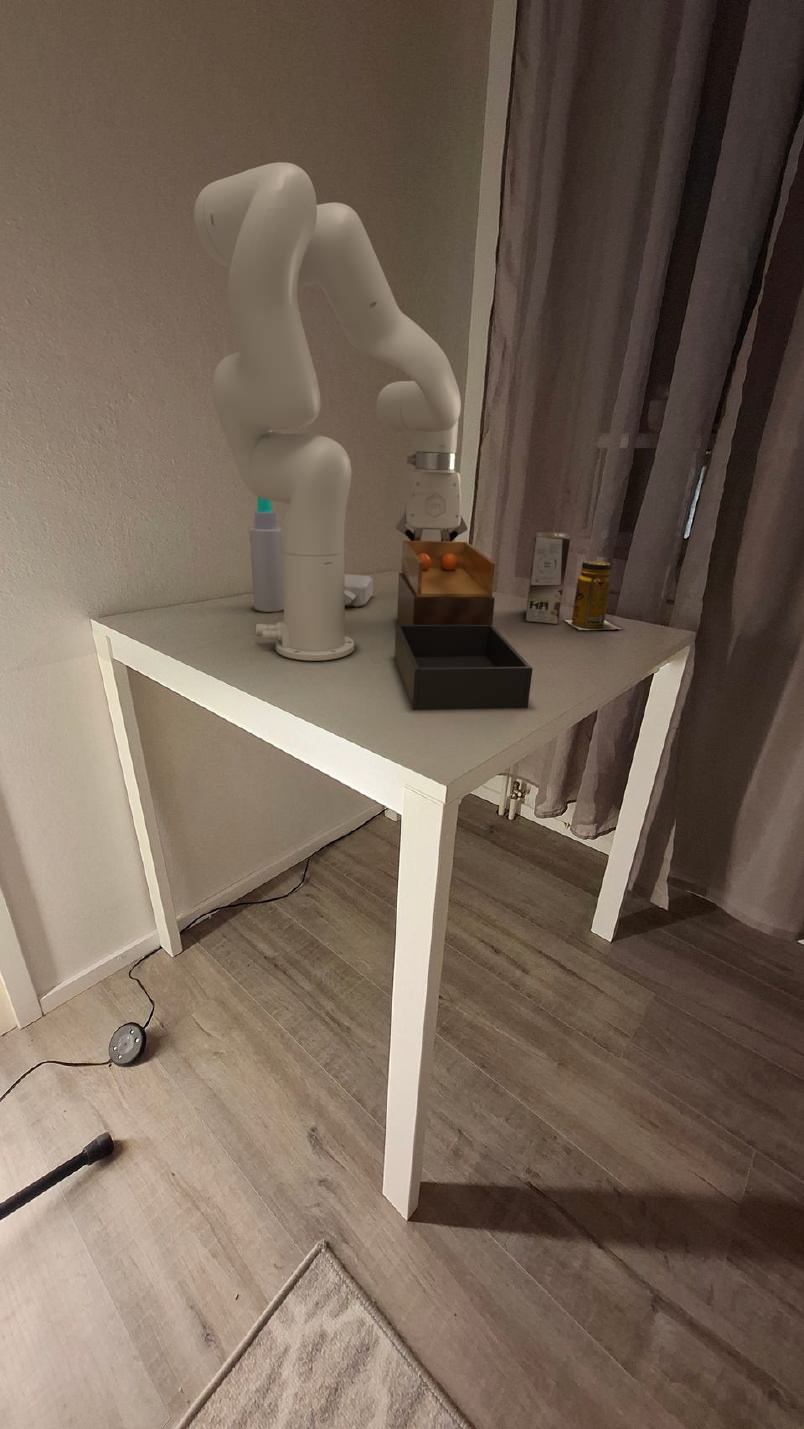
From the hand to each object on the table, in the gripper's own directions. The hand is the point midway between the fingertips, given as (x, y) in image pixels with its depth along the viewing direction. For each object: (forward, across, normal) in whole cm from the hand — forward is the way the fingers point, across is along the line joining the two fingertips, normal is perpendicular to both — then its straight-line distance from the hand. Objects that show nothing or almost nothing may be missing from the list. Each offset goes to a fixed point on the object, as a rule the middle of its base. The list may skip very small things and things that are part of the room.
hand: (429, 564), depth 119 cm
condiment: (+10, +31, -8) cm, 34 cm away
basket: (+10, -2, -37) cm, 39 cm away
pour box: (0, 0, -11) cm, 11 cm away
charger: (+10, -16, +8) cm, 20 cm away
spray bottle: (+10, -31, +4) cm, 33 cm away
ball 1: (-2, -2, -7) cm, 8 cm away
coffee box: (+10, +23, -2) cm, 25 cm away
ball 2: (-2, +2, -7) cm, 8 cm away
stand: (+10, 0, -14) cm, 17 cm away
